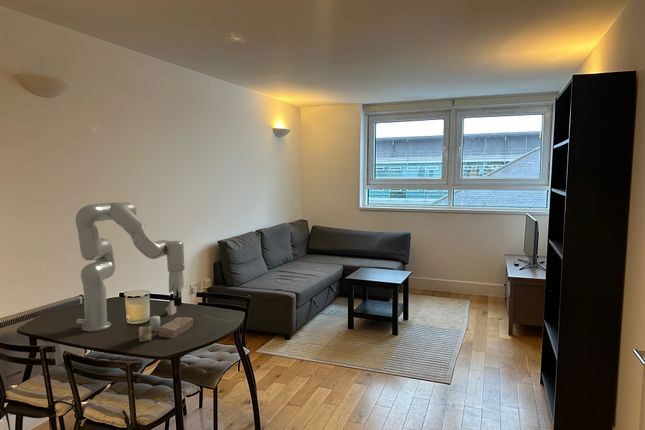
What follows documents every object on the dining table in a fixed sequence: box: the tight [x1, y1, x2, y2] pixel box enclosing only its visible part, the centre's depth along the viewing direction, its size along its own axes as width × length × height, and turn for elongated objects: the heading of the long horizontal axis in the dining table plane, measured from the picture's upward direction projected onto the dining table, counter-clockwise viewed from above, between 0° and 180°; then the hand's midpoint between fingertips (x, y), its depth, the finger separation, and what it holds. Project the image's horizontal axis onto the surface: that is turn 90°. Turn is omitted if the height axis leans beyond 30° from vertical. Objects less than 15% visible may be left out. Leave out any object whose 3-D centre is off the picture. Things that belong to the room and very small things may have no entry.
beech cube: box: [138, 325, 152, 342], centre depth 201 cm, size 5×5×5 cm
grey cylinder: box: [149, 315, 161, 332], centre depth 213 cm, size 5×5×6 cm
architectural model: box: [164, 300, 177, 316], centre depth 237 cm, size 3×7×7 cm, turn 170°
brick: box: [158, 316, 194, 339], centre depth 211 cm, size 17×8×5 cm, turn 164°
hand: (178, 305), depth 210 cm, fingers closed
